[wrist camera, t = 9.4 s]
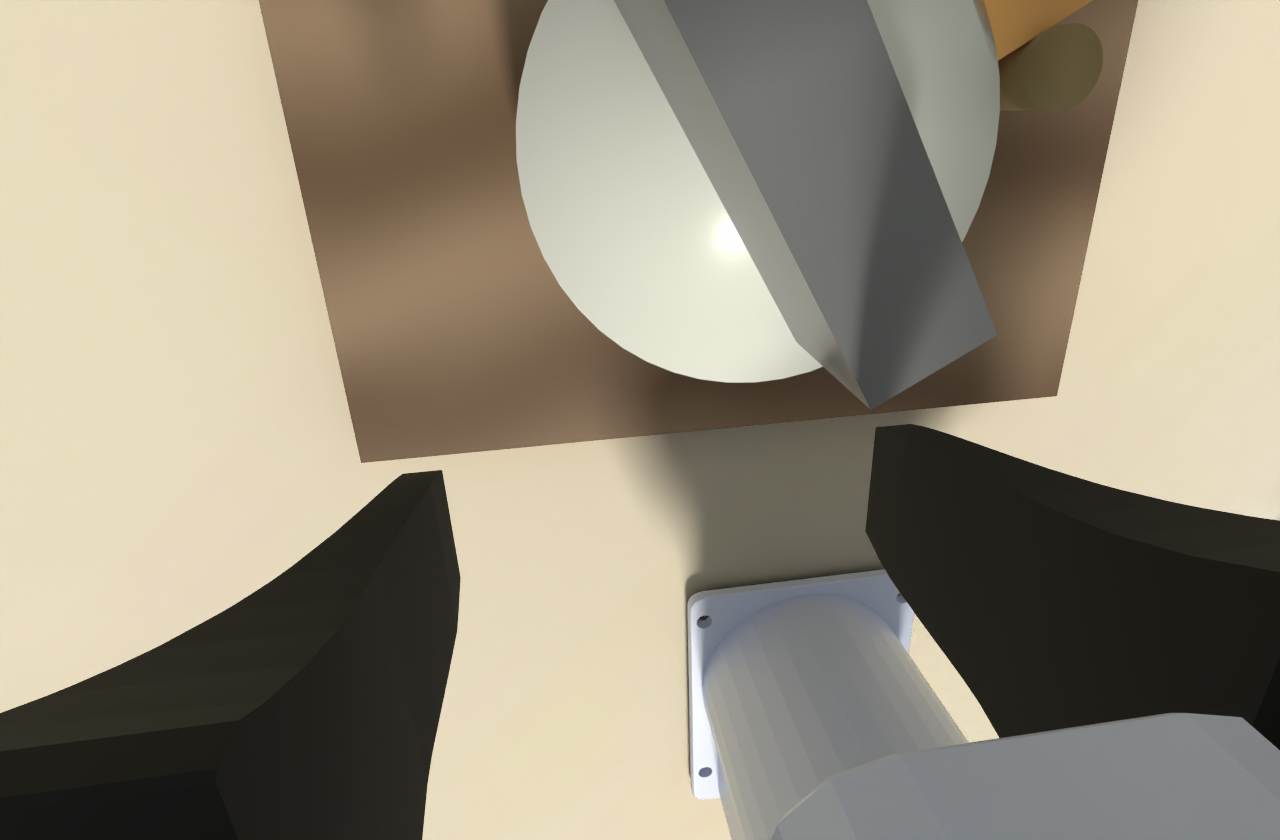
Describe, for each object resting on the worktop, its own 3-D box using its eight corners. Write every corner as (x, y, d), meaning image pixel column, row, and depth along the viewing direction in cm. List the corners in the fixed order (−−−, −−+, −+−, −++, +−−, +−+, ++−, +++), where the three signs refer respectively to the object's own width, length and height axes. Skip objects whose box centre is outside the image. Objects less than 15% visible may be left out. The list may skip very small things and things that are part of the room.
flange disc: (669, 441, 18) (716, 555, 14) (413, 59, 14) (357, 40, 10) (1115, 170, 17) (1329, 195, 12) (975, -335, 13) (1217, -572, 8)
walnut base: (1025, 378, 23) (1141, 443, 19) (372, 439, 21) (330, 528, 16) (1137, -228, 17) (1349, -343, 13) (231, -231, 15) (104, -369, 10)
